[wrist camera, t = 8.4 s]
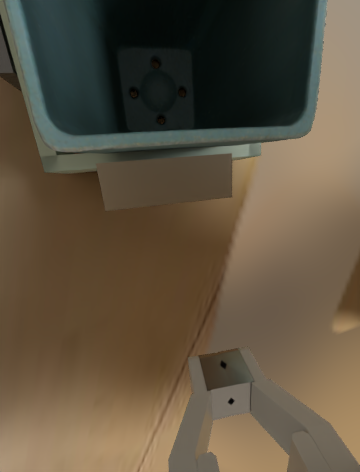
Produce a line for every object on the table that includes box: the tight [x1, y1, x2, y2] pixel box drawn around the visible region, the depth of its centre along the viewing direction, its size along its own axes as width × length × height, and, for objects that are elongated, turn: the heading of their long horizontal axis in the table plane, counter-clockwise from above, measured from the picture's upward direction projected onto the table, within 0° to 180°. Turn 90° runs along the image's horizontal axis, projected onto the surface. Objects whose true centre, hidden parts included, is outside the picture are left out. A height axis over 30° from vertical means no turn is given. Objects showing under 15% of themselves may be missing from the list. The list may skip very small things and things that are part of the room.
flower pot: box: [3, 0, 327, 154], centre depth 9 cm, size 9×9×9 cm
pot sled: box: [0, 0, 261, 211], centre depth 10 cm, size 13×13×6 cm
